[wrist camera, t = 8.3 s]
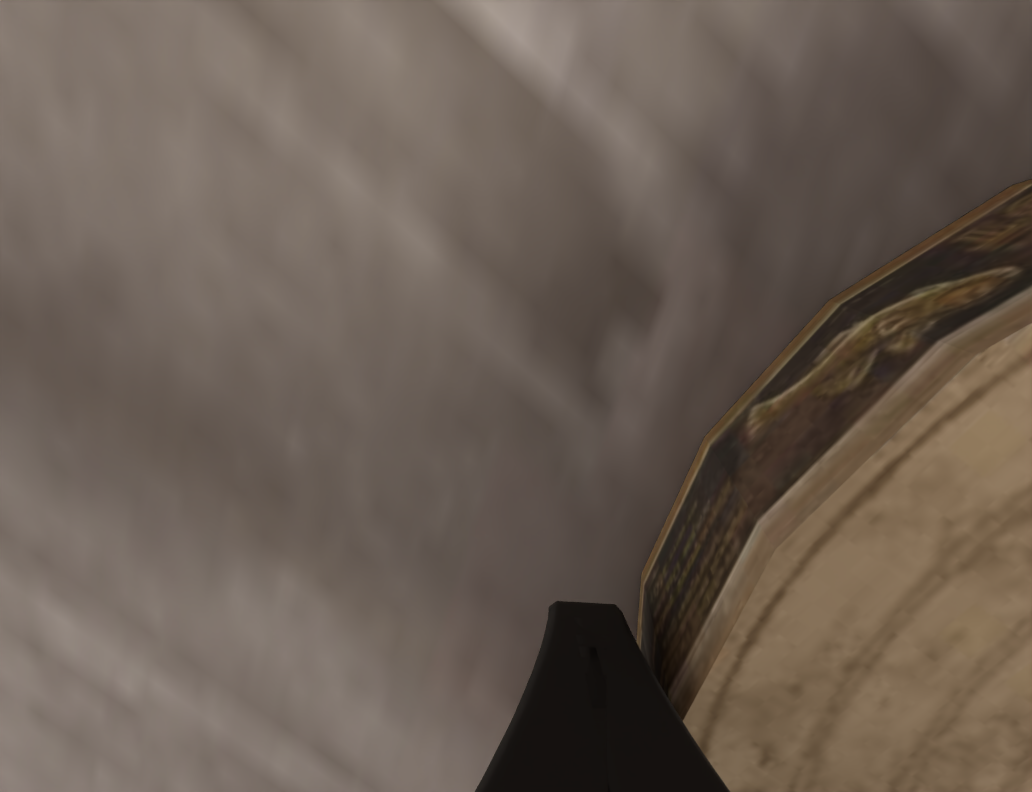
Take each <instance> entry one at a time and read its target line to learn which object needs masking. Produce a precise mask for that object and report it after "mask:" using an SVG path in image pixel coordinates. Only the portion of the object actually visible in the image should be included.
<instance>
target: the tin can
mask: <svg viewBox="0 0 1032 792" xmlns="http://www.w3.org/2000/svg"><path fill="white" fill-rule="evenodd" d="M637 644H638V646H639V648H640V650H641V652H642V654H643V656H644V657H645V659H646V661H647V663H648V665H649V666H650V668H651V670H652V672H653V674H654V675H655V677H656V679H657V681H658V682H659V684H660V686H661V687H662V689H663V691H664V692H665V694H666V696H667V697H668V699H669V700H670V702H671V704H672V705H673V707H674V708H675V710H676V712H677V713H678V715H679V716H680V718H681V720H682V721H683V723H684V724H685V726H686V728H687V729H688V731H689V732H690V734H691V735H692V737H693V738H694V740H695V741H696V743H697V744H698V746H699V747H700V749H701V750H702V752H703V753H704V755H705V756H706V758H707V759H708V761H709V762H710V764H711V765H712V766H713V768H714V769H715V771H716V772H717V774H718V775H719V776H720V778H721V779H722V781H723V782H724V783H725V785H726V786H727V788H728V789H729V791H730V792H1032V179H1031V180H1028V181H1024V182H1021V183H1018V184H1015V185H1012V186H1011V187H1009V188H1007V189H1006V190H1004V191H1003V192H1001V193H999V194H998V195H996V196H995V197H993V198H991V199H990V200H988V201H987V202H985V203H983V204H982V205H980V206H979V207H977V208H975V209H974V210H972V211H971V212H969V213H967V214H966V215H964V216H963V217H961V218H960V219H958V220H956V221H955V222H953V223H952V224H950V225H948V226H947V227H945V228H944V229H942V230H940V231H939V232H937V233H936V234H934V235H932V236H931V237H929V238H928V239H926V240H924V241H923V242H921V243H920V244H918V245H916V246H915V247H913V248H912V249H910V250H909V251H907V252H905V253H904V254H902V255H901V256H899V257H897V258H896V259H894V260H893V261H891V262H889V263H888V264H886V265H885V266H883V267H881V268H880V269H878V270H877V271H875V272H873V273H872V274H870V275H869V276H867V277H865V278H864V279H862V280H861V281H859V282H858V283H856V284H854V285H853V286H851V287H850V288H848V289H846V290H845V291H843V292H842V293H840V294H838V295H837V296H835V297H834V298H832V299H830V300H829V301H828V302H827V303H826V304H825V305H824V307H823V308H822V309H821V310H820V311H819V312H818V313H817V314H816V315H815V316H814V318H813V319H812V320H811V321H810V322H809V323H808V324H807V325H806V326H805V327H804V328H803V330H802V331H801V332H800V333H799V334H798V335H797V336H796V337H795V338H794V339H793V341H792V342H791V343H790V344H789V345H788V346H787V347H786V348H785V349H784V350H783V352H782V353H781V354H780V355H779V356H778V357H777V358H776V359H775V360H774V361H773V362H772V364H771V365H770V366H769V367H768V368H767V369H766V370H765V371H764V372H763V373H762V375H761V376H760V377H759V378H758V379H757V380H756V381H755V382H754V383H753V384H752V385H751V387H750V388H749V389H748V390H747V391H746V392H745V393H744V394H743V395H742V396H741V398H740V399H739V400H738V401H737V402H736V403H735V404H734V405H733V406H732V407H731V409H730V410H729V411H728V412H727V413H726V414H725V415H724V416H723V417H722V418H721V419H720V421H719V422H718V423H717V424H716V425H715V426H714V427H713V428H712V429H711V430H710V432H709V433H708V434H707V435H706V436H705V437H704V439H703V442H702V444H701V446H700V448H699V450H698V452H697V455H696V457H695V459H694V461H693V463H692V465H691V468H690V470H689V472H688V474H687V476H686V478H685V481H684V483H683V485H682V487H681V489H680V491H679V494H678V496H677V498H676V500H675V502H674V504H673V507H672V509H671V511H670V513H669V515H668V517H667V520H666V522H665V524H664V526H663V528H662V530H661V533H660V535H659V537H658V539H657V541H656V543H655V546H654V548H653V550H652V552H651V554H650V556H649V559H648V561H647V563H646V565H645V567H644V569H643V572H642V574H641V587H640V601H639V615H638V628H637Z"/></svg>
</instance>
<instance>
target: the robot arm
mask: <svg viewBox="0 0 1032 792" xmlns="http://www.w3.org/2000/svg"><path fill="white" fill-rule="evenodd" d="M475 792H730V791H729V789H728V788H727V786H726V785H725V783H724V782H723V781H722V779H721V778H720V776H719V775H718V774H717V772H716V771H715V769H714V768H713V766H712V765H711V764H710V762H709V761H708V759H707V758H706V756H705V755H704V753H703V752H702V750H701V749H700V747H699V746H698V744H697V743H696V741H695V740H694V738H693V737H692V735H691V734H690V732H689V731H688V729H687V728H686V726H685V724H684V723H683V721H682V720H681V718H680V716H679V715H678V713H677V712H676V710H675V708H674V707H673V705H672V704H671V702H670V700H669V699H668V697H667V696H666V694H665V692H664V691H663V689H662V687H661V686H660V684H659V682H658V681H657V679H656V677H655V675H654V674H653V672H652V670H651V668H650V666H649V665H648V663H647V661H646V659H645V657H644V656H643V654H642V652H641V650H640V648H639V646H638V644H637V642H636V641H635V639H634V637H633V635H632V633H631V631H630V628H629V626H628V624H627V622H626V620H625V618H624V615H623V613H622V611H621V610H620V609H619V608H618V607H617V606H616V605H615V604H598V603H581V602H563V601H557V602H555V603H554V604H553V605H551V606H550V607H549V612H548V621H547V626H546V630H545V634H544V638H543V642H542V645H541V648H540V651H539V654H538V657H537V660H536V663H535V666H534V669H533V671H532V674H531V676H530V678H529V681H528V683H527V686H526V688H525V690H524V693H523V695H522V698H521V700H520V703H519V705H518V707H517V710H516V712H515V714H514V716H513V718H512V721H511V723H510V725H509V727H508V729H507V731H506V733H505V735H504V737H503V739H502V741H501V743H500V745H499V747H498V749H497V751H496V753H495V755H494V757H493V759H492V761H491V763H490V765H489V767H488V769H487V771H486V772H485V774H484V776H483V778H482V780H481V782H480V783H479V785H478V787H477V789H476V791H475Z"/></svg>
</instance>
